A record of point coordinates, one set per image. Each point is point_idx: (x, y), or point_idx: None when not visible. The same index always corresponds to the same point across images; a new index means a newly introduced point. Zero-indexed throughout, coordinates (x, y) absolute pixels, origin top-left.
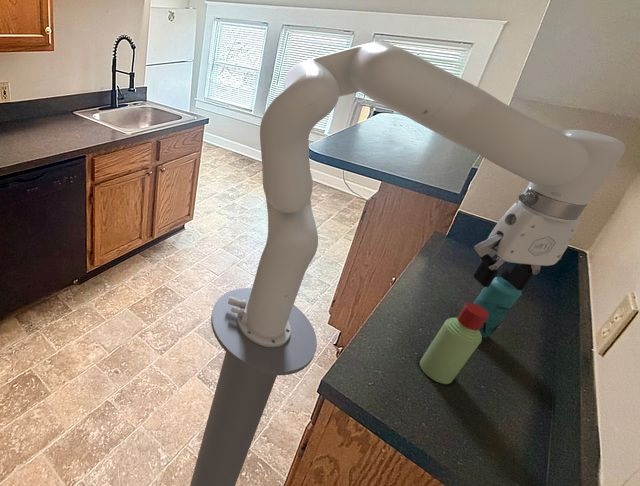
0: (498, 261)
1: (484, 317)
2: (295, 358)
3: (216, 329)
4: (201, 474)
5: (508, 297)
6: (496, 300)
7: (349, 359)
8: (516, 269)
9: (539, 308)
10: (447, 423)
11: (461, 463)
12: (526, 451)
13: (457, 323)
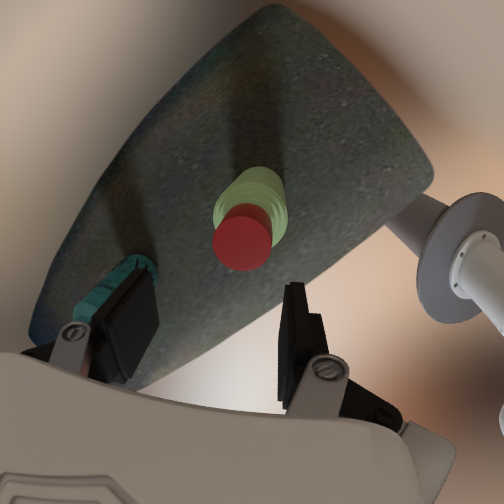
0: (330, 411)
1: (241, 216)
2: (467, 212)
3: None
4: None
5: (97, 302)
6: None
7: (396, 210)
8: (132, 357)
9: (48, 301)
10: (304, 102)
11: (322, 54)
12: (206, 71)
13: None
